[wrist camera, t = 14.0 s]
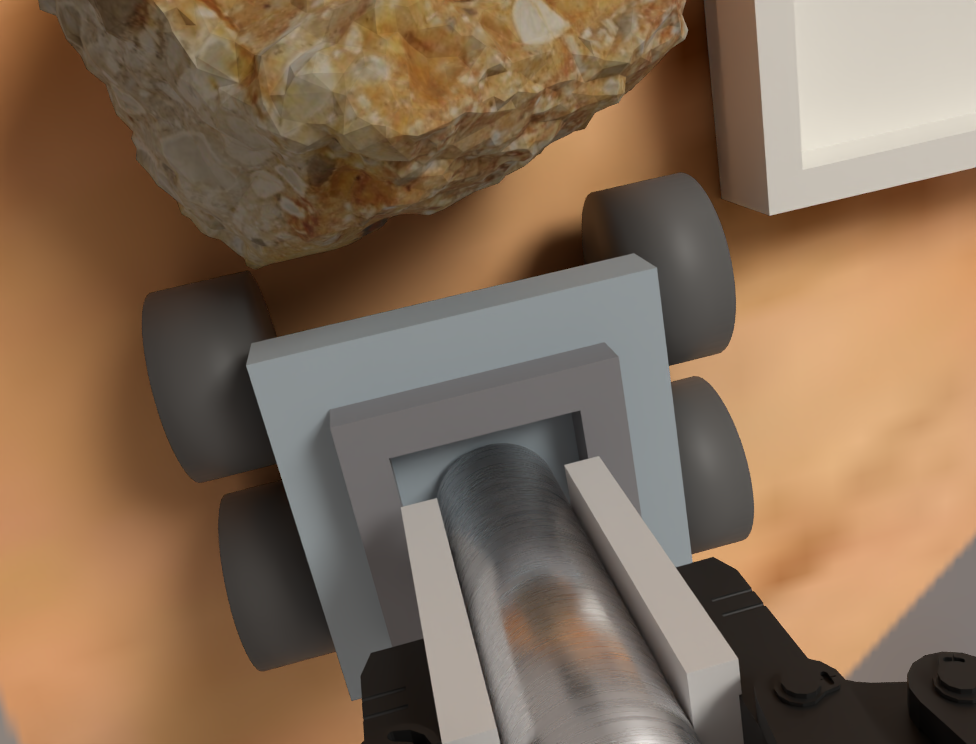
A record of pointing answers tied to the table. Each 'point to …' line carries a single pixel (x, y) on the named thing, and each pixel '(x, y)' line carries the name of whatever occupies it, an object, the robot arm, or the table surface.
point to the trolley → (450, 415)
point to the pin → (548, 612)
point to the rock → (353, 100)
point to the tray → (839, 96)
